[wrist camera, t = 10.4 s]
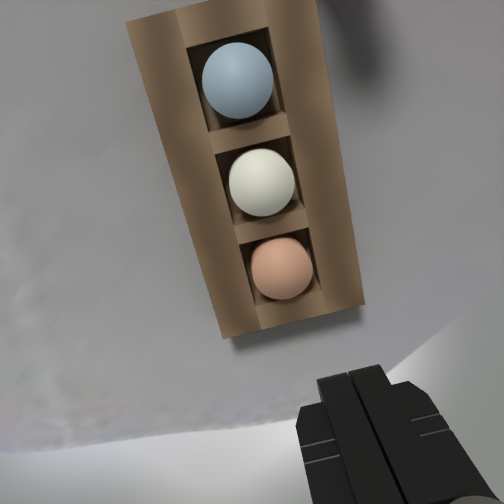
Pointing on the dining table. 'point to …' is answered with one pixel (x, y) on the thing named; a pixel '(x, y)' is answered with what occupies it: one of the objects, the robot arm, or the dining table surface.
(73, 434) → the dining table surface
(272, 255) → the terracotta button
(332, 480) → the robot arm
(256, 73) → the slate button
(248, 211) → the cream button
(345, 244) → the wooden slotted tray
